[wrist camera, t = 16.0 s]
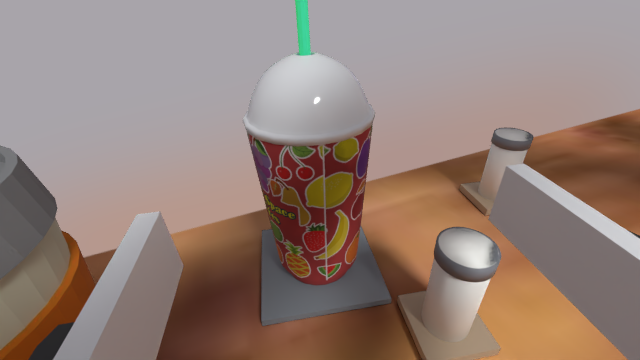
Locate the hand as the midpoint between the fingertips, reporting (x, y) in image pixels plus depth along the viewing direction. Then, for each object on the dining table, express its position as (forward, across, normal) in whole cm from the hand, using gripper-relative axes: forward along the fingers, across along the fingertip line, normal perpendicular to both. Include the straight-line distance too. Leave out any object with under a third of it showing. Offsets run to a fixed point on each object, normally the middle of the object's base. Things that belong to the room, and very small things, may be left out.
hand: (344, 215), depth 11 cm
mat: (+10, 0, -13) cm, 16 cm away
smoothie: (+10, 0, -13) cm, 16 cm away
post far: (+15, +21, -14) cm, 29 cm away
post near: (+2, +8, -14) cm, 16 cm away
